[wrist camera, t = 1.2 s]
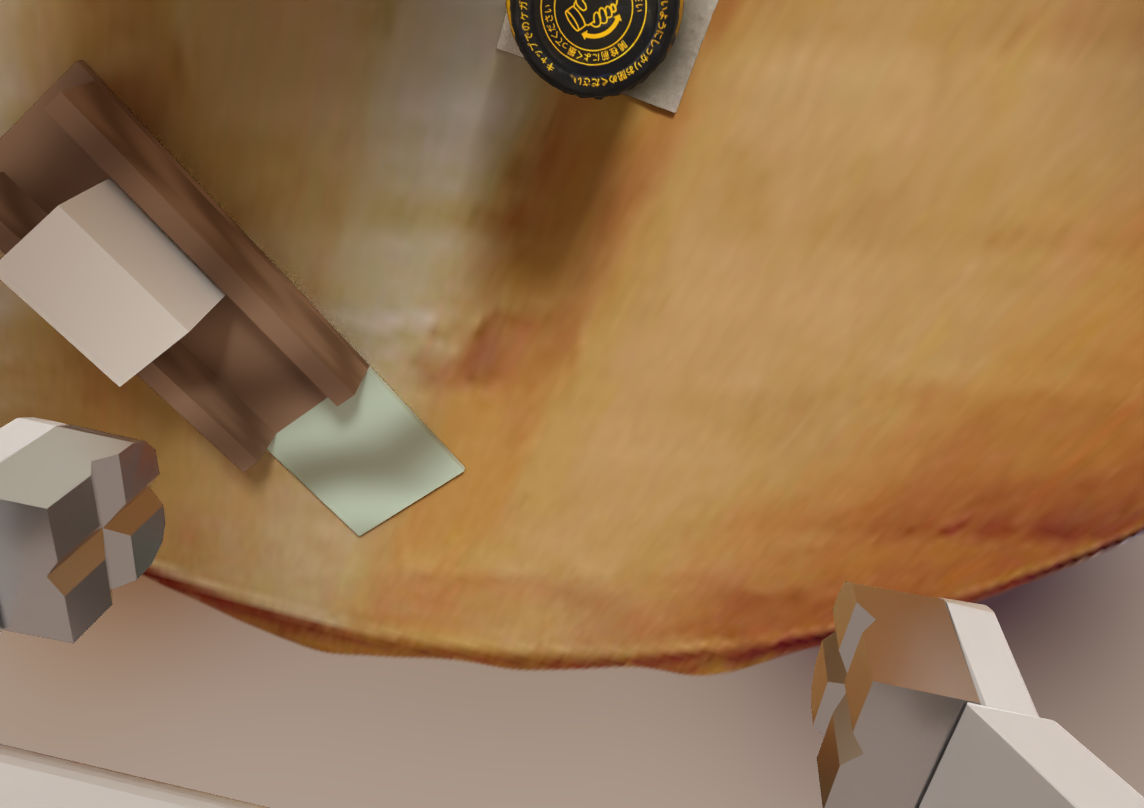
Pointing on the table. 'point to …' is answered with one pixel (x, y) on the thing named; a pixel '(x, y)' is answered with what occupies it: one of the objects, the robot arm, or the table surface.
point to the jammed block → (109, 280)
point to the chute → (230, 318)
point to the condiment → (609, 45)
